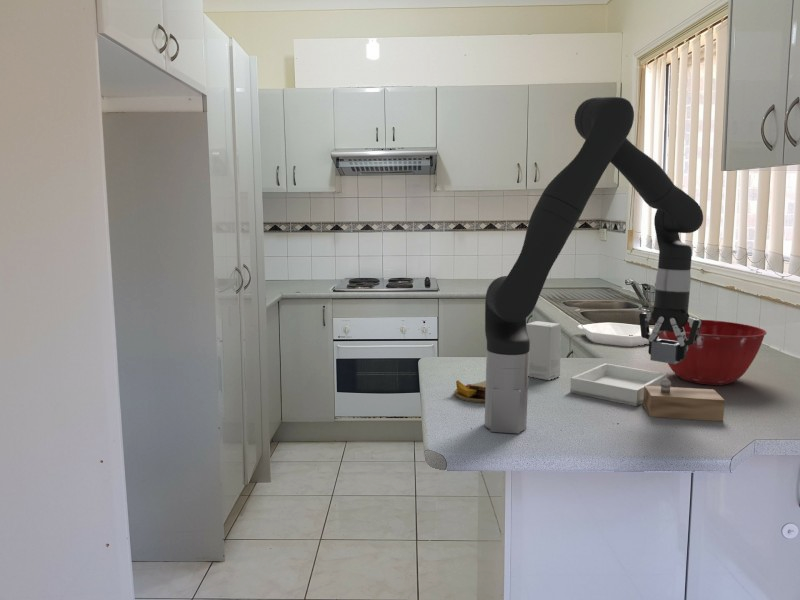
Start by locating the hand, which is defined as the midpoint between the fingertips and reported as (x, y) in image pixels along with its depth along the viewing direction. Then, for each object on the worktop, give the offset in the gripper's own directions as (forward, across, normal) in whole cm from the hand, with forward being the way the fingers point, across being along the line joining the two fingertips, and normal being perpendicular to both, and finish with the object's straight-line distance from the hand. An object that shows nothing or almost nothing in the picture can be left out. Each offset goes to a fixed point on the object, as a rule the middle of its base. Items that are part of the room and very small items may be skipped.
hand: (666, 358), depth 156 cm
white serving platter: (+13, +42, -77) cm, 89 cm away
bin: (+13, +15, -11) cm, 23 cm away
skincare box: (+13, +37, -10) cm, 41 cm away
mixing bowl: (+13, +1, -40) cm, 42 cm away
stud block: (+13, -4, -2) cm, 14 cm away
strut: (0, 0, -5) cm, 5 cm away
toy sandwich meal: (+14, +39, +19) cm, 46 cm away
